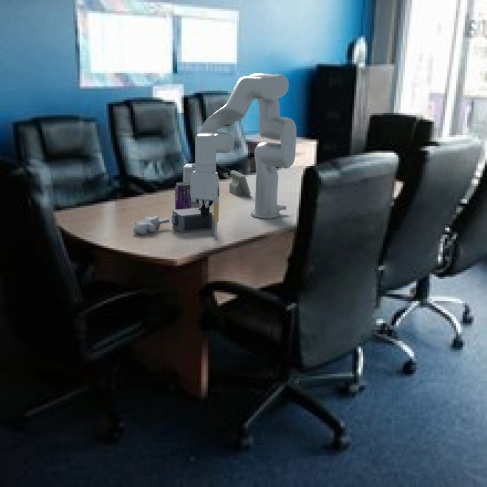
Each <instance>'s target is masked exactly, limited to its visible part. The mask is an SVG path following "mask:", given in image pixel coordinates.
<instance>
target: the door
mask: <svg viewBox="0 0 487 487" xmlns="http://www.w3.org/2000/svg"><path fill="white" fill-rule="evenodd" d="M219 203H220V202H218V203H213V213H212V230H211V231H212V233H213V237H214V239H218V222H220V221H219V217H220V216H219V213H220V212H219V210H220V209H219V208H220V207H219V206H220V204H219Z"/></svg>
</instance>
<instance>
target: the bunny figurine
mask: <svg viewBox="0 0 487 487" xmlns="http://www.w3.org/2000/svg"><path fill="white" fill-rule="evenodd" d="M167 223H168V224H169V223H170V220H169V218H163V219H160V220H159V216H158V215H153V217H152V216H146V217H145V218H143V220H139V221H136V222H135V223H134V224H135V226H134V228H133V233H135V234H140V235H144V236H145V235H148V233H156V232H157V231H158V230H159V229H160V227H161V225H162V224H167Z"/></svg>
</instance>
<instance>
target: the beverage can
mask: <svg viewBox="0 0 487 487" xmlns="http://www.w3.org/2000/svg"><path fill="white" fill-rule="evenodd" d="M190 189H191V186H190V183H187V182H183V181H182V182H181V181H180V182H176V183H175V186H174V205H175V206H174V210H180V209H190V208H192V202H191V196H190Z"/></svg>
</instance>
